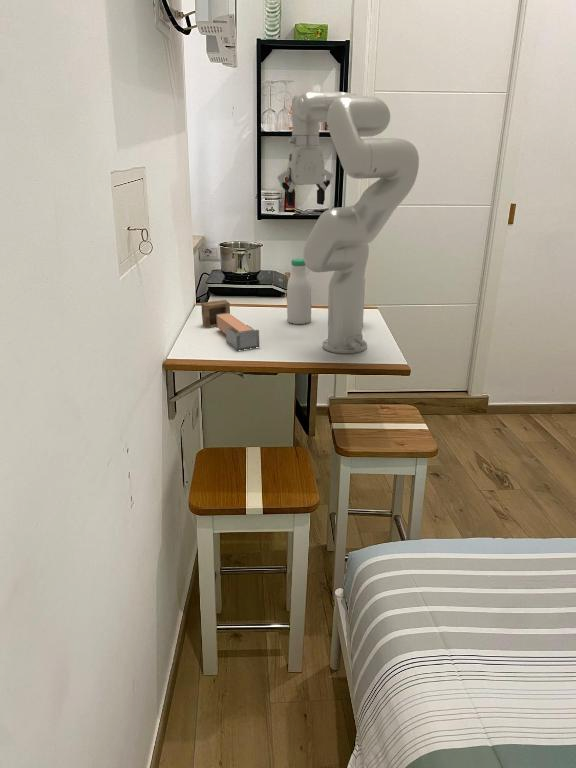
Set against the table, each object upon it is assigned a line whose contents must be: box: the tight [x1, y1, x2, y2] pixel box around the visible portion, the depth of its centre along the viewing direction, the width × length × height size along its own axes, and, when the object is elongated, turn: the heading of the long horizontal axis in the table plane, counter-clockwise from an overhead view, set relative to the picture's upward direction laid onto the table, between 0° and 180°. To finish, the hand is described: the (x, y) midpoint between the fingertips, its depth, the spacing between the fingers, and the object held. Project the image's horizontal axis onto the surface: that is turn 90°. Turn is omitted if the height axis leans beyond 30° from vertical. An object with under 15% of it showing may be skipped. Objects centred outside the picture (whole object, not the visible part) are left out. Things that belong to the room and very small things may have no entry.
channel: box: [225, 324, 260, 352], centre depth 174 cm, size 9×7×5 cm
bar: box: [216, 313, 254, 335], centre depth 179 cm, size 20×4×4 cm, turn 25°
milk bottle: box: [286, 258, 312, 325], centre depth 193 cm, size 8×8×20 cm
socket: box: [200, 299, 231, 329], centre depth 193 cm, size 4×8×7 cm, turn 115°
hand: (305, 205), depth 178 cm, fingers open, 9 cm apart
